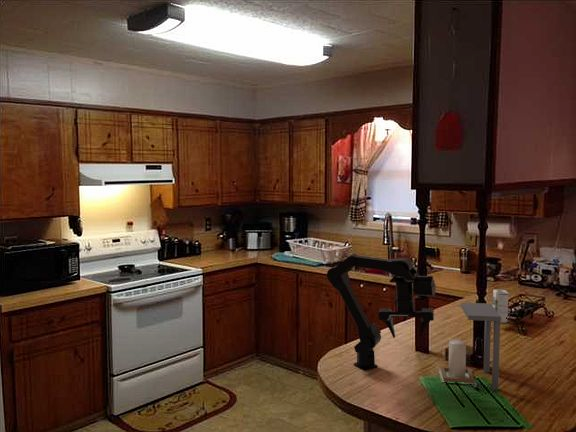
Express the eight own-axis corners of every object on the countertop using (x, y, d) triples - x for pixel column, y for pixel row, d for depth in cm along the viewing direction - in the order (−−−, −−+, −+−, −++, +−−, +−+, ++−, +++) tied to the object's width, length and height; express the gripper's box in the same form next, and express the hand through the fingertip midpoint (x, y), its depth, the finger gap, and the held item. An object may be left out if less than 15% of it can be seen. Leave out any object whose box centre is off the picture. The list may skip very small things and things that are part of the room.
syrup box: (491, 319, 244) (492, 289, 243) (504, 319, 243) (505, 289, 242) (494, 322, 238) (495, 292, 237) (508, 323, 238) (509, 292, 236)
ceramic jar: (444, 375, 178) (445, 341, 177) (456, 371, 181) (457, 338, 180) (457, 380, 173) (458, 346, 172) (468, 377, 176) (469, 343, 175)
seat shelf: (443, 386, 170) (444, 314, 168) (438, 367, 186) (439, 301, 184) (498, 390, 167) (501, 316, 165) (488, 370, 183) (490, 303, 180)
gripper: (433, 288, 184) (435, 331, 185) (381, 289, 189) (383, 330, 191) (432, 296, 173) (434, 341, 174) (376, 296, 179) (379, 340, 180)
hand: (407, 338), depth 180 cm, fingers open, 9 cm apart
